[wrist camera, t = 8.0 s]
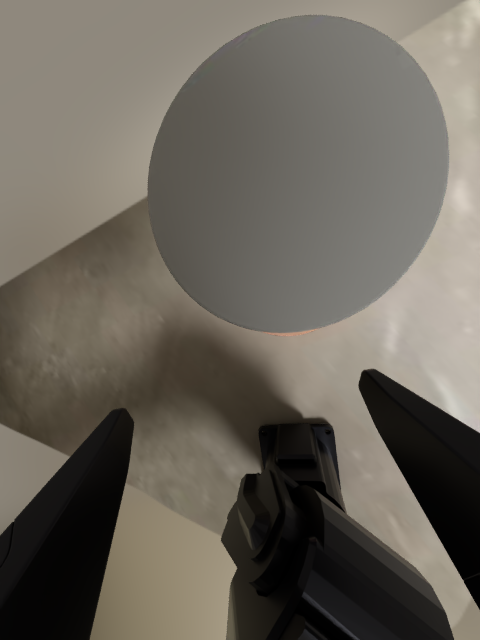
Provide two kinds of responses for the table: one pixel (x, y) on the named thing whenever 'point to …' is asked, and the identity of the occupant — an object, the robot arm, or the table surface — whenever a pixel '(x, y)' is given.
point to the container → (298, 174)
